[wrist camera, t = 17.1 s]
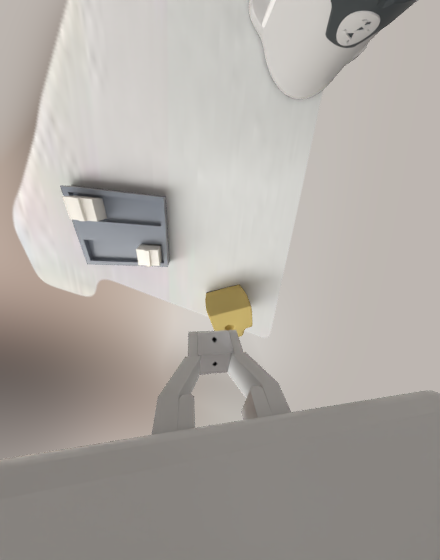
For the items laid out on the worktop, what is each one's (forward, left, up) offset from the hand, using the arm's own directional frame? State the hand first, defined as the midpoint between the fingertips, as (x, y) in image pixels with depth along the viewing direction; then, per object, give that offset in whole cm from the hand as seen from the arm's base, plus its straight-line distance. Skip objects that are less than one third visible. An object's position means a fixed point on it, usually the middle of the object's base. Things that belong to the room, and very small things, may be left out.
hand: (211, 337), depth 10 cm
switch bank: (+1, -14, -29) cm, 32 cm away
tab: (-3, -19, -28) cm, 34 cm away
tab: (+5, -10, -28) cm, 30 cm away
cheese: (+20, +9, -29) cm, 37 cm away
